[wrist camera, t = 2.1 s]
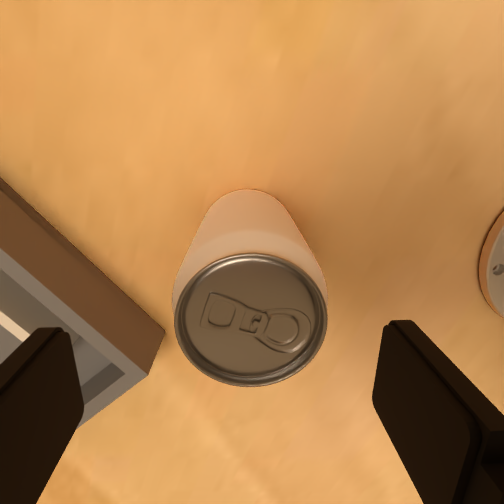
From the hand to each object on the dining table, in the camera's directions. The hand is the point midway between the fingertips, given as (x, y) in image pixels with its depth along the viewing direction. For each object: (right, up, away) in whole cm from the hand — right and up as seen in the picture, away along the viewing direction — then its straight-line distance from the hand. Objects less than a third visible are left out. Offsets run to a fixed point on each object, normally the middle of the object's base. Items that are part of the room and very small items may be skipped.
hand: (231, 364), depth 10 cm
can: (0, +5, +14) cm, 14 cm away
